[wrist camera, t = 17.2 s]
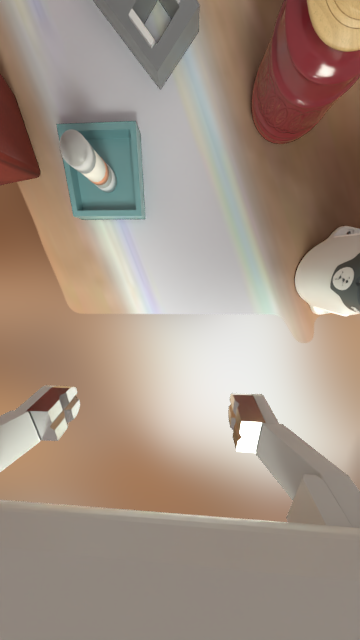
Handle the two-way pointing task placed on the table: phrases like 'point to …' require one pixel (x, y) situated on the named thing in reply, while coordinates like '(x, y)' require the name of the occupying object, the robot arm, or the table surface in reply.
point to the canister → (306, 66)
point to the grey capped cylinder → (87, 160)
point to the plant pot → (14, 141)
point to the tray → (123, 158)
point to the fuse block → (158, 60)
